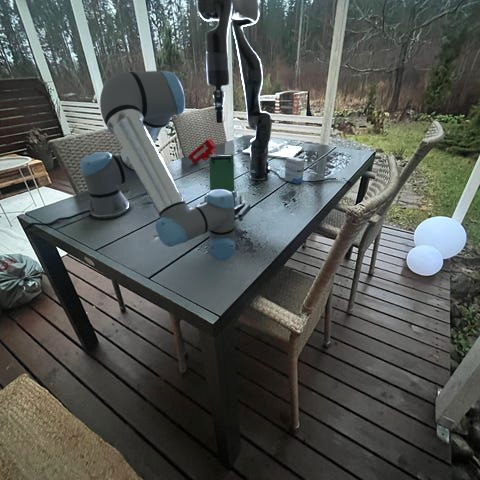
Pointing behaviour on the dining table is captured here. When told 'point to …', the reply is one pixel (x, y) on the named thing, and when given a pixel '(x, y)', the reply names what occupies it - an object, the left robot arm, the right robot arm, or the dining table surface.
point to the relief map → (280, 150)
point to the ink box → (294, 170)
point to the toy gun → (203, 151)
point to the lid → (221, 172)
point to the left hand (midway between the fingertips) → (223, 198)
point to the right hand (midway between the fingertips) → (220, 120)
